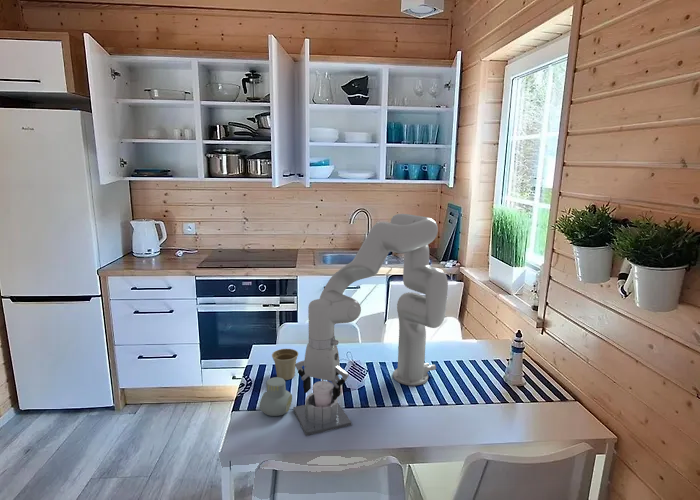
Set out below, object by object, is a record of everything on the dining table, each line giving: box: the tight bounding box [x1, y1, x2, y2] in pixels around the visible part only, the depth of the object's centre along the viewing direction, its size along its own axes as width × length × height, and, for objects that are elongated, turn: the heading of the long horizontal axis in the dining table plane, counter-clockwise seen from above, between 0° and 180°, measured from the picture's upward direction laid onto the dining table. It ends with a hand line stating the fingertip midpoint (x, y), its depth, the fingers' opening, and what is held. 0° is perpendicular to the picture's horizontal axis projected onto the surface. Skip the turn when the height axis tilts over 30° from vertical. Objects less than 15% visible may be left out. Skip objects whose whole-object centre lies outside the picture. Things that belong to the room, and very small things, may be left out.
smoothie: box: [311, 379, 334, 407], centre depth 131 cm, size 6×6×14 cm
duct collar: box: [292, 392, 352, 437], centre depth 133 cm, size 14×14×6 cm
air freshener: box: [259, 376, 293, 417], centre depth 136 cm, size 11×8×10 cm
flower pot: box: [271, 348, 299, 381], centre depth 157 cm, size 9×9×9 cm
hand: (321, 394), depth 132 cm, fingers open, 9 cm apart
